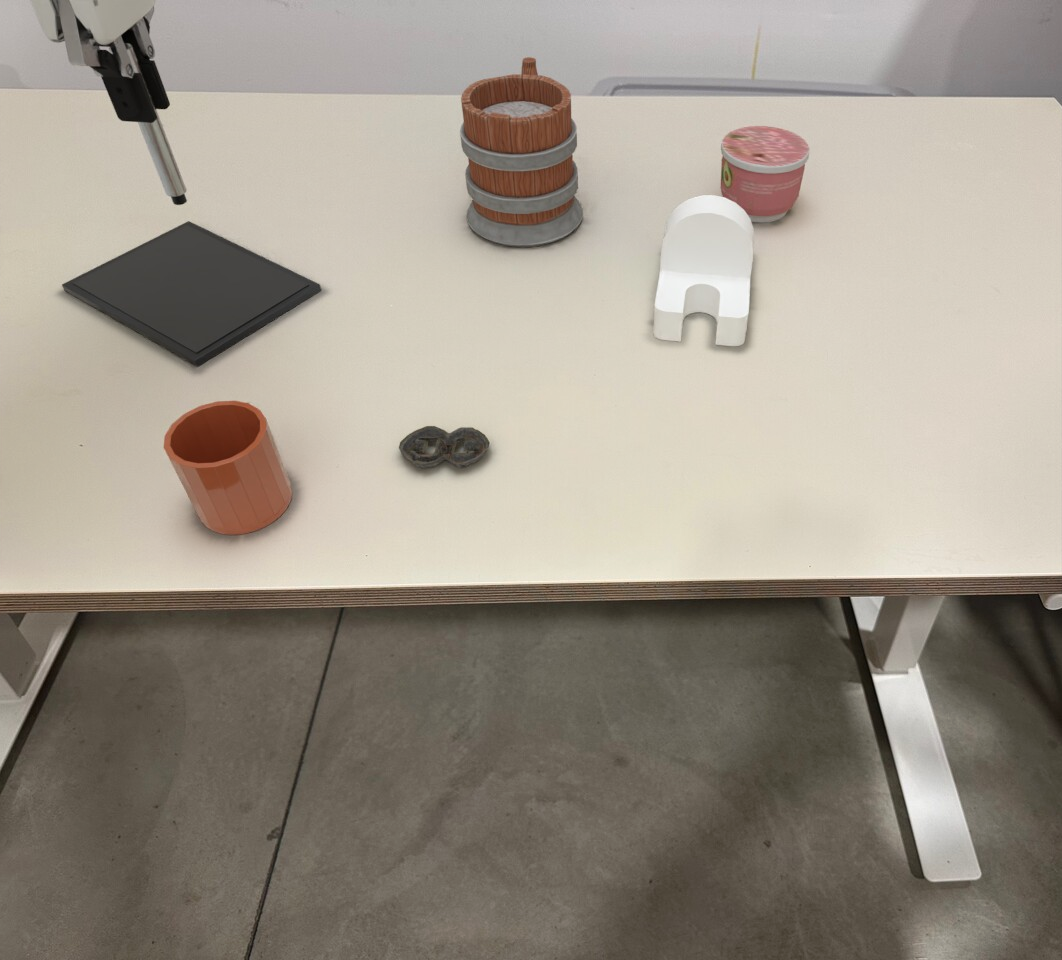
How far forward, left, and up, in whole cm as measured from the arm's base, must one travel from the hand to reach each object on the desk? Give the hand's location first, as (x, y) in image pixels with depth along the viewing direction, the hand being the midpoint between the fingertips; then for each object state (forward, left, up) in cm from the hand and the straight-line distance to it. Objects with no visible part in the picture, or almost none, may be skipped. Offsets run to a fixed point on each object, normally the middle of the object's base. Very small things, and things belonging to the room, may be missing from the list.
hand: (145, 112), depth 77 cm
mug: (+36, -11, -22) cm, 44 cm away
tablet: (+1, +7, -22) cm, 23 cm away
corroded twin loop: (-2, -32, -22) cm, 39 cm away
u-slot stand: (+33, -39, -22) cm, 56 cm away
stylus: (0, 0, -9) cm, 9 cm away
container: (+53, -34, -22) cm, 67 cm away
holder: (-16, -22, -22) cm, 35 cm away
